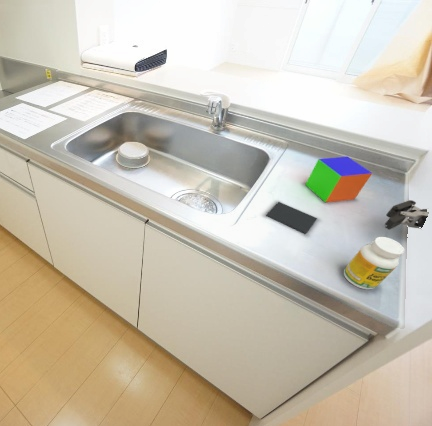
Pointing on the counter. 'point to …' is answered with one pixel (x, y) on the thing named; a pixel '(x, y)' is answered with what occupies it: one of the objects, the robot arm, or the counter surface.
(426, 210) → the robot arm
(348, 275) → the supplement bottle
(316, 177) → the cube
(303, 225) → the mat
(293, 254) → the counter surface
